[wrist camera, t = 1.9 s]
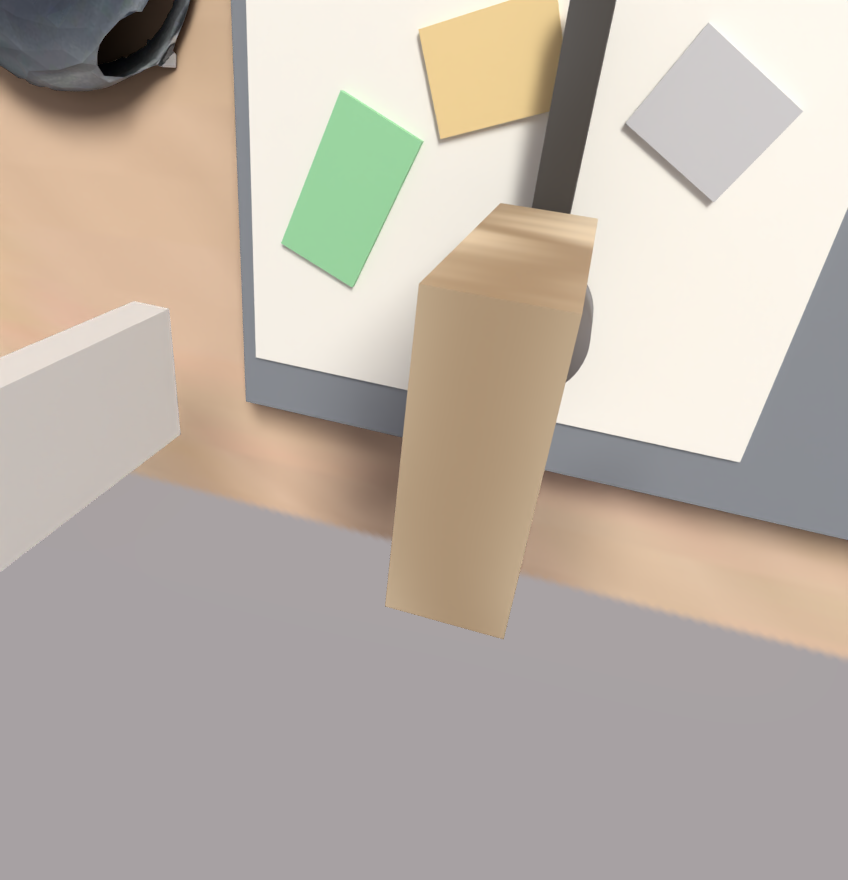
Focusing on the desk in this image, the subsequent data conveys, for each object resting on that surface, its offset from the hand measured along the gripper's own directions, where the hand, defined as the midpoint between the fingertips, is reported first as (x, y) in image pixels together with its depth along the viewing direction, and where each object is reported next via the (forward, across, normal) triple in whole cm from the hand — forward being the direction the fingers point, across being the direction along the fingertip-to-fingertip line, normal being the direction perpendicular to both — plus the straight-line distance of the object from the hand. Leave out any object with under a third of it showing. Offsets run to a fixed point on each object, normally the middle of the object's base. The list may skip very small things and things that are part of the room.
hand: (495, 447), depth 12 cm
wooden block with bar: (+7, 0, +2) cm, 8 cm away
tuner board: (+10, +2, +2) cm, 10 cm away
